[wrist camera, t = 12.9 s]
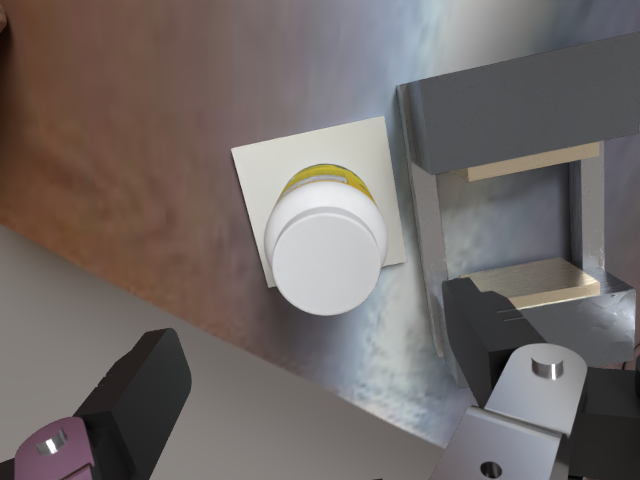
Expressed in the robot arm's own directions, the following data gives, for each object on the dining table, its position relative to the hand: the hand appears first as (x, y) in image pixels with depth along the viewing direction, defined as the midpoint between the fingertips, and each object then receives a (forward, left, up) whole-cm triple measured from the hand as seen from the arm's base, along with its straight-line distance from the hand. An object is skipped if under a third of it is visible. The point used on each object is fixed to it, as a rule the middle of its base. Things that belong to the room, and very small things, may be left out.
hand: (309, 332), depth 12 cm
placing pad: (0, 0, -17) cm, 17 cm away
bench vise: (+3, +12, -17) cm, 21 cm away
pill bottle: (0, 0, -17) cm, 17 cm away
